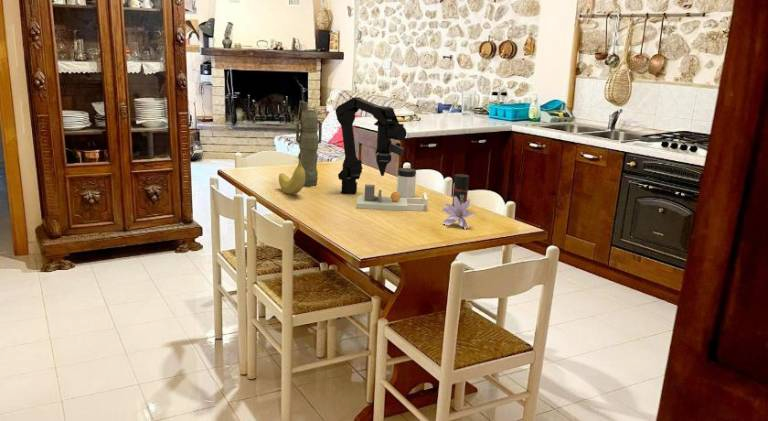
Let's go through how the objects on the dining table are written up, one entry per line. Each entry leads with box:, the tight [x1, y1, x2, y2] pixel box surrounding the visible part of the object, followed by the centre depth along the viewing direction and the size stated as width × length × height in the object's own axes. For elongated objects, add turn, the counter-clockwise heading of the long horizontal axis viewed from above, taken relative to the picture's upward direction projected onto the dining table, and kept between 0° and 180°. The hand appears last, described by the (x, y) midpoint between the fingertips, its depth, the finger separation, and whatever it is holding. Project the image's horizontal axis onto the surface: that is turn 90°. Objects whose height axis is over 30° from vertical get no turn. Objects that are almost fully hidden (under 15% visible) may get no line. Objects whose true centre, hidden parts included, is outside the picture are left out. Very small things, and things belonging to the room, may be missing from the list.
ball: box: [390, 191, 401, 201], centre depth 260 cm, size 4×4×4 cm
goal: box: [407, 192, 429, 212], centre depth 261 cm, size 8×12×5 cm
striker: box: [364, 184, 382, 202], centre depth 260 cm, size 7×7×6 cm
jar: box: [396, 167, 417, 198], centre depth 279 cm, size 9×8×12 cm
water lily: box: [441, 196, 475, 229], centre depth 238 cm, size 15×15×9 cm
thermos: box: [295, 109, 323, 188], centre depth 286 cm, size 9×12×35 cm
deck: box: [356, 195, 408, 212], centre depth 261 cm, size 21×14×2 cm, turn 90°
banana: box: [278, 152, 305, 195], centre depth 270 cm, size 23×6×20 cm, turn 32°
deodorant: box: [451, 173, 470, 207], centre depth 257 cm, size 6×6×15 cm
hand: (382, 173), depth 263 cm, fingers open, 9 cm apart
